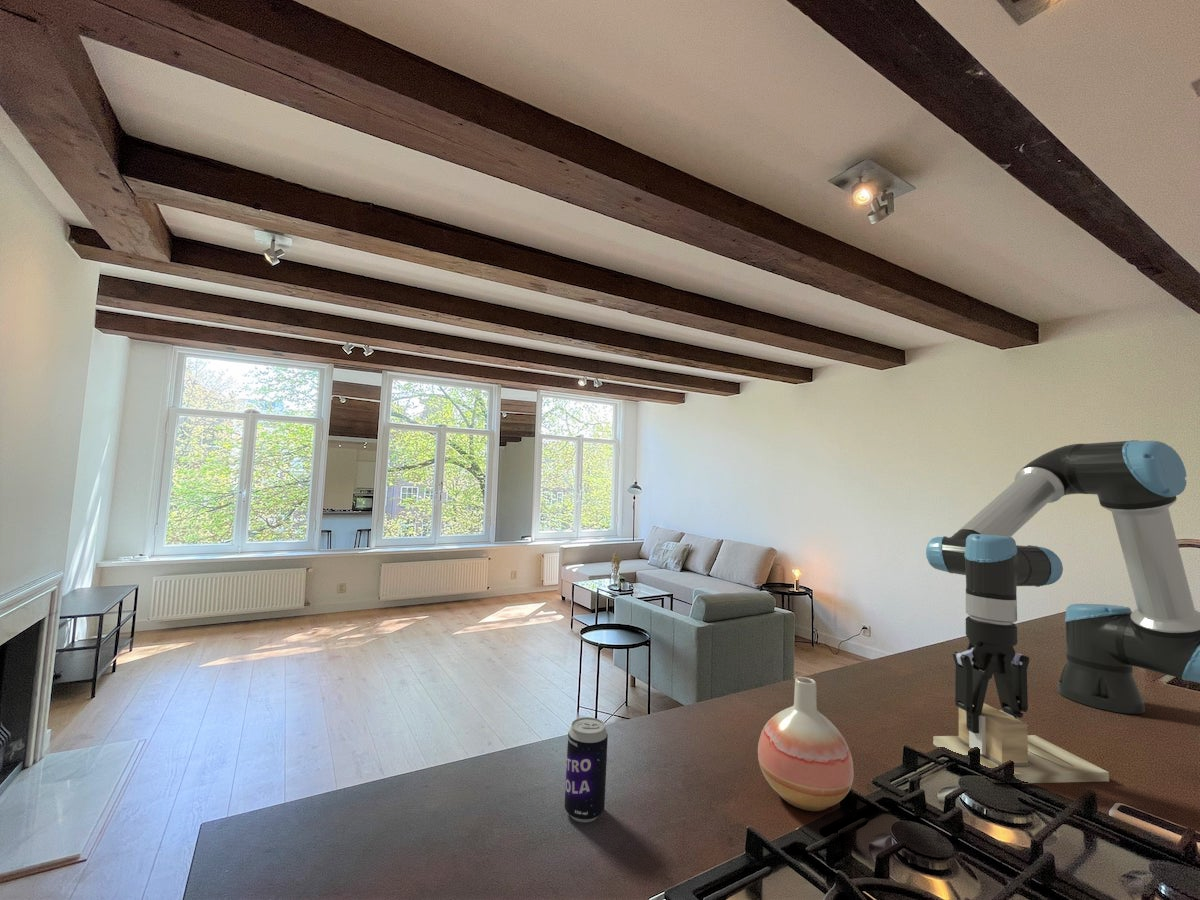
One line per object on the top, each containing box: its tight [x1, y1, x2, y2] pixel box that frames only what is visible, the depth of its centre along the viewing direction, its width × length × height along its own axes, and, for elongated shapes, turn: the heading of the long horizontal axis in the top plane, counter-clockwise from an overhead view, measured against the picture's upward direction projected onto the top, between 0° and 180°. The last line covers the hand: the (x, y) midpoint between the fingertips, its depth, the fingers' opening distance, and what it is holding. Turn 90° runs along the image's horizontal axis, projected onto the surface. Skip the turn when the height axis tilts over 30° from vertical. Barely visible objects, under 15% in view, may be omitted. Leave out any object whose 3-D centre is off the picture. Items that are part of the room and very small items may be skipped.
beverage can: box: [563, 717, 609, 823], centre depth 72 cm, size 6×6×12 cm
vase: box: [757, 676, 855, 812], centre depth 78 cm, size 14×14×18 cm
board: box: [932, 734, 1110, 784], centre depth 92 cm, size 22×13×2 cm, turn 97°
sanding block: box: [958, 702, 1029, 766], centre depth 92 cm, size 9×5×7 cm, turn 7°
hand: (991, 750), depth 91 cm, fingers closed on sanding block, 5 cm apart
